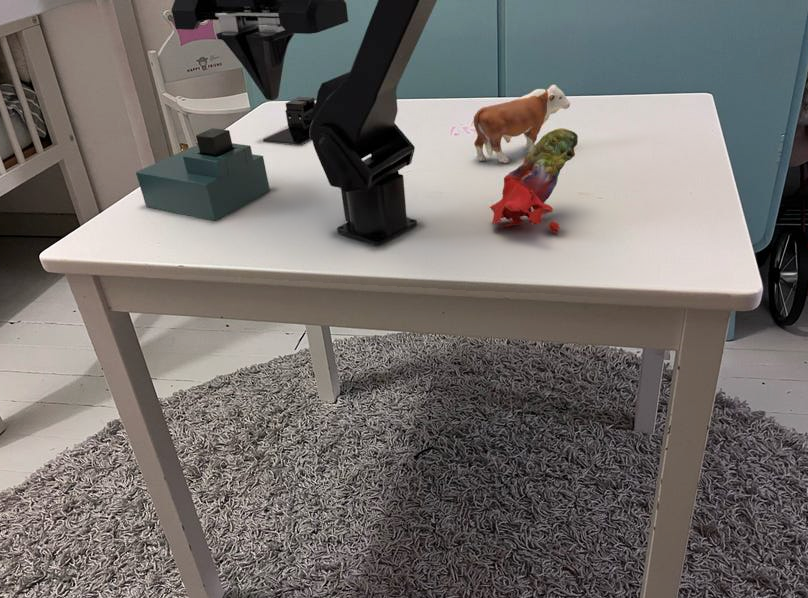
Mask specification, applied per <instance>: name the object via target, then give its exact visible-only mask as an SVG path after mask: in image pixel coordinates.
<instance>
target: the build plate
mask: <svg viewBox="0 0 808 598" xmlns="http://www.w3.org/2000/svg"><path fill="white" fill-rule="evenodd" d="M315 104H316V100H315V97H309V96H298V97H295V98H293V99H291V100H289V101H287V102H285V115H286V116H285V117H286V123H287V126H284V127H283V128H281V129H279V130H277V131H276V132H274V133H272V134H270V135H268V136H266V137H264V138H262V142H263V143H273V144H284V145H294V146H302V145H304V144H305V143H307V142H309V141H310V140H311V139H310V126H311V123H312V121H313V119H308V117H307V116H308V115H309V114H310V113H311V112H312V110H313V109H314V107H315ZM311 141H312V140H311Z"/></svg>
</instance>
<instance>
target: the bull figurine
mask: <svg viewBox="0 0 808 598" xmlns="http://www.w3.org/2000/svg"><path fill="white" fill-rule="evenodd" d="M570 106H571V102H570V101H569V99H568V98H567V96H566V95H565V93H564V91H562V89H560V88H559V87H558V86H557V84H552V85H548V86H547V87H546V89H544V88H536V89H534V90H532V91H531V92H530V93H528V94H524V95H522V96H520V97H519V98H517V99H516V98H515V99H514V100H511V101H507V102H501V103H498V104H493V105H487V106H483V107H481V108H480V109H478V110H477V111H476V113H475V114H474V116H473V126H474V129H475V131H476V135H477V136H476V139H475V141H474V143H473V144H474V147H475V150H476V159H478V160H479V161H480V162H485V161H487V158H486V156H485V154H484V150H483V149H484V148H485V152H486V155H488V156H489V157H492V156H493V153H495V154H496V157H497V161H498V162H500V163H503V164H509V163H510V162H511V161H510V159H509V158H508V157H507V156H506V154H504V152H503V149H502V146H501V145H502V139H504V141H505V142H506V143H507V144H509V143H511V139H512V138H516V137H519V136H521V135H524V138H525V139H526V143H525V147H526V152H527V153H528V154H529V153H530V152H531V151H532V150H533V148H534V146H535V145H536V144H535V143H536V141H538V140H537V139H538V135H539V133H540V132H541V129H542V128H543V126H544V124H545V123H546V122H547V121H548V120H549V118H550V116H551V115H553V114H556V113H557V112H558V111H560V110H561V109H563V110H568V109H570ZM483 147H484V148H483Z"/></svg>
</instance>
